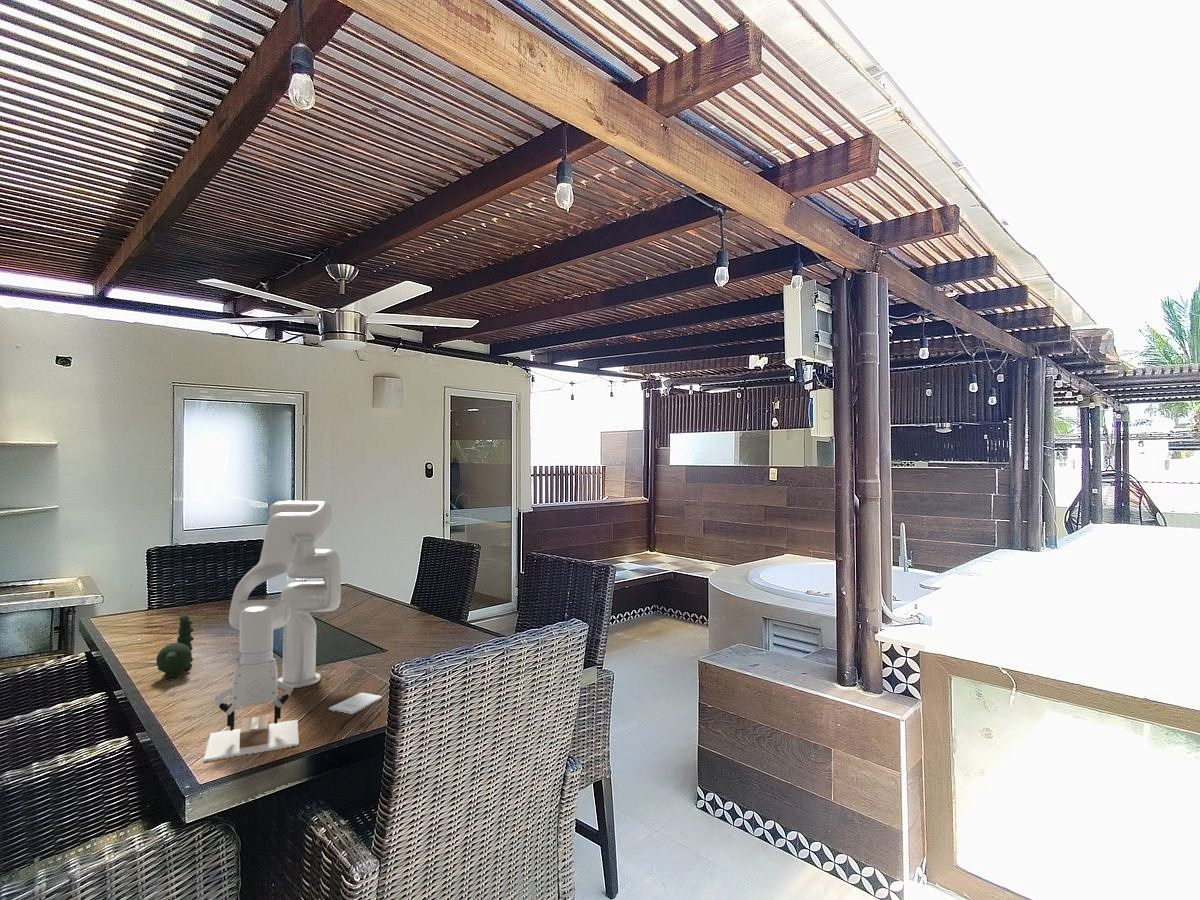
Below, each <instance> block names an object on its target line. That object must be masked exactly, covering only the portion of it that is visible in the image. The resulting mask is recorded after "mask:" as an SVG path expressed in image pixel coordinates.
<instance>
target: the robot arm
mask: <svg viewBox="0 0 1200 900" xmlns="http://www.w3.org/2000/svg"><path fill="white" fill-rule="evenodd" d="M268 512H269V519H268V522H267V525H266V530H265V534H264V540H263V544H262V549H261V552H260V558H259V560H258V563H257V564H256V565H254V566H253V567H252V568H251V569H250V570H249V571H247V573H245V574H244V576H243V577H242V578H240V579H241V580H239V582H238V583H237V584H236V586H235V589H234V591H233V594H232V598H231V603H230V607H229V613H228V621H229V625H230V627H231V628H233V630H238V631H239V632H238V633H239V636H238V637H239V638H238V639H239V640H238V642H239V643H238V652H237V653H234V654H232V656H231V660H232V661H237V662H236V664H235V665H234V669H233V672H232V673H233V674H232V680H231V681H232V684H231V687H229V688H228V689H226V690H223V691H222V692H221V693H219V694H217V695H216V696H215V697H214V701H215V703H216V704H217V706H218V708H219V709H220V710H221V711H223V712H224V713H225V714H226V716H227V719H226V722H227V723H226V727H229V730H230V731H233V730H234V728H235V718H236V717H235V716H236V715H235V710H236V708H241V707H249V706H257V705H261V704H262V705H263V704H269V703H273V704H274V715H273V716H274V717H273V718H274V719H273V723H275V724H277V723H278V719H281V718H282V717H281V715H282V714H281V713H282V711H281V710H282V708H281V707H282V706H283V705H284V704H285V703H286V702H287V701H288V700H289V698H290V697H291V694H292V692H293V691H294V689H298V688H303V687H309V686H312V685H315V684H317V683H318V682H319V681H320V680H321V674H320V673H319V672H316V668H317V667H316V660H317V658H316V657H317V654H316V653H317V624H316V623H317V622H316V621H315V619H314V617H313V616H312V615H311V614H310V613H316V612H317V613H319V612H321V613H322V612H333V611H335V610H337V609H338V608H339V607H340V604H341V601H342V600H341V598H342V586H341V585H342V584H341V583H342V582H341V558H340V554H339V553H338V552H337V551H336V550H335V549H331V548H316V547H315V542H318V541H319V540H320V539H321V538H322V537H323V535H324V534H325V532H326V531H327V529H328V528H329V526H330V524H331V522H332V518H333V510H332V506H331V505H330V503H329V502H326V501H325V500H324V501H323V500H284V501H283V500H282V501H281V500H280V501H276V502H274V503H272V504H271V505H270V507H269V511H268ZM284 573H285V574H286V576H287V578H289V579H291V580H299V581H295V582H290V583H288V584H286V585H285V586H284V587H282V590H281V592H280V599H249V600H248V598H249V596H250V594H251V593H252V592H253V590H254V589H255V588H256V587H257V586H259V585H261V584H262V583H264V582H266V581H269V580H271V579H273V578H276V577H277V576H280V575H283V574H284ZM301 580H320V581H301ZM321 580H322V581H321ZM281 628H283V632H282V633H283V634H282V635H283V636H282V637H283V638H282V642H283V643H282V676H280V677H279V676H278V672H279V671H278V666H277V661H276V659H275V658H273V657H274V656H273V655H274V652H273V650H274V631H276V630H278V629H281ZM279 689H282V690H283V691H285V692H284V694H283V695H282V696H280V697H279V695H278V693H279ZM230 695H231V699H230V700H231V703H229V704H228V703H227V702H225V701H224V699H225V698H226V697H228V696H230Z"/></svg>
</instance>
